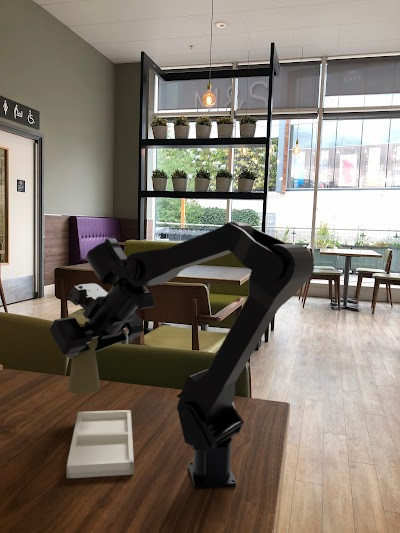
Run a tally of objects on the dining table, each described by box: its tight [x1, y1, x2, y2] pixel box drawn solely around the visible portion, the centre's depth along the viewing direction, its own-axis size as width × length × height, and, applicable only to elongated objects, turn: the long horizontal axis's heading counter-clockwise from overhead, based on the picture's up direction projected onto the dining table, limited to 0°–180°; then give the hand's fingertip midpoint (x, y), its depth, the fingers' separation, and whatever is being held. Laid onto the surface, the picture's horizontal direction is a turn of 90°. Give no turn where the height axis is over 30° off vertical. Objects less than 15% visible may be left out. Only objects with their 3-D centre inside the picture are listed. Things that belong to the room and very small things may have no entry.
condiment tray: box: [66, 409, 135, 479], centre depth 77 cm, size 19×10×2 cm, turn 10°
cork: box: [67, 338, 101, 395], centre depth 86 cm, size 6×6×11 cm
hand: (79, 353), depth 87 cm, fingers closed on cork, 5 cm apart
